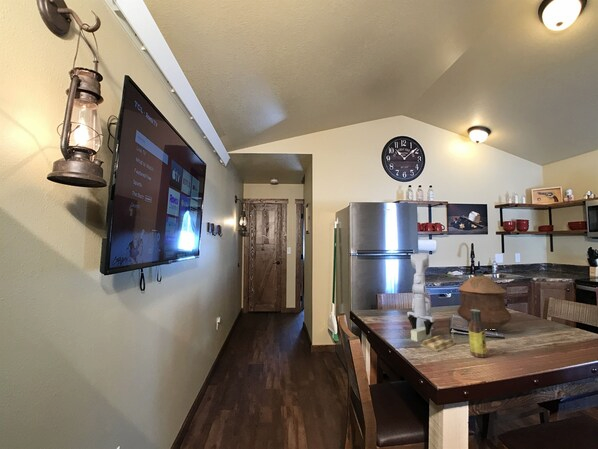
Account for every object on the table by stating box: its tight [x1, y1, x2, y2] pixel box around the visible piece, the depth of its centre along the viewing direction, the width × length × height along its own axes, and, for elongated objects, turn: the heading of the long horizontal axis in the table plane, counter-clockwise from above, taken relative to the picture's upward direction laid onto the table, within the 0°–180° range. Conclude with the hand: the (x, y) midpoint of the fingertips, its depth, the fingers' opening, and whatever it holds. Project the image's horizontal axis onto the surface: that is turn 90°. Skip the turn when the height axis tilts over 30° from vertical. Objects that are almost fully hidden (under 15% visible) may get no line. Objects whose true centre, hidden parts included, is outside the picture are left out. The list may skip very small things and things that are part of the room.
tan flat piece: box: [420, 335, 456, 353], centre depth 128 cm, size 15×8×2 cm, turn 121°
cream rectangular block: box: [410, 326, 432, 342], centre depth 137 cm, size 12×4×5 cm, turn 121°
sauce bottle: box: [468, 309, 488, 358], centre depth 117 cm, size 7×6×20 cm
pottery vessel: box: [457, 275, 513, 330], centre depth 151 cm, size 26×26×30 cm
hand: (421, 332), depth 137 cm, fingers open, 7 cm apart
